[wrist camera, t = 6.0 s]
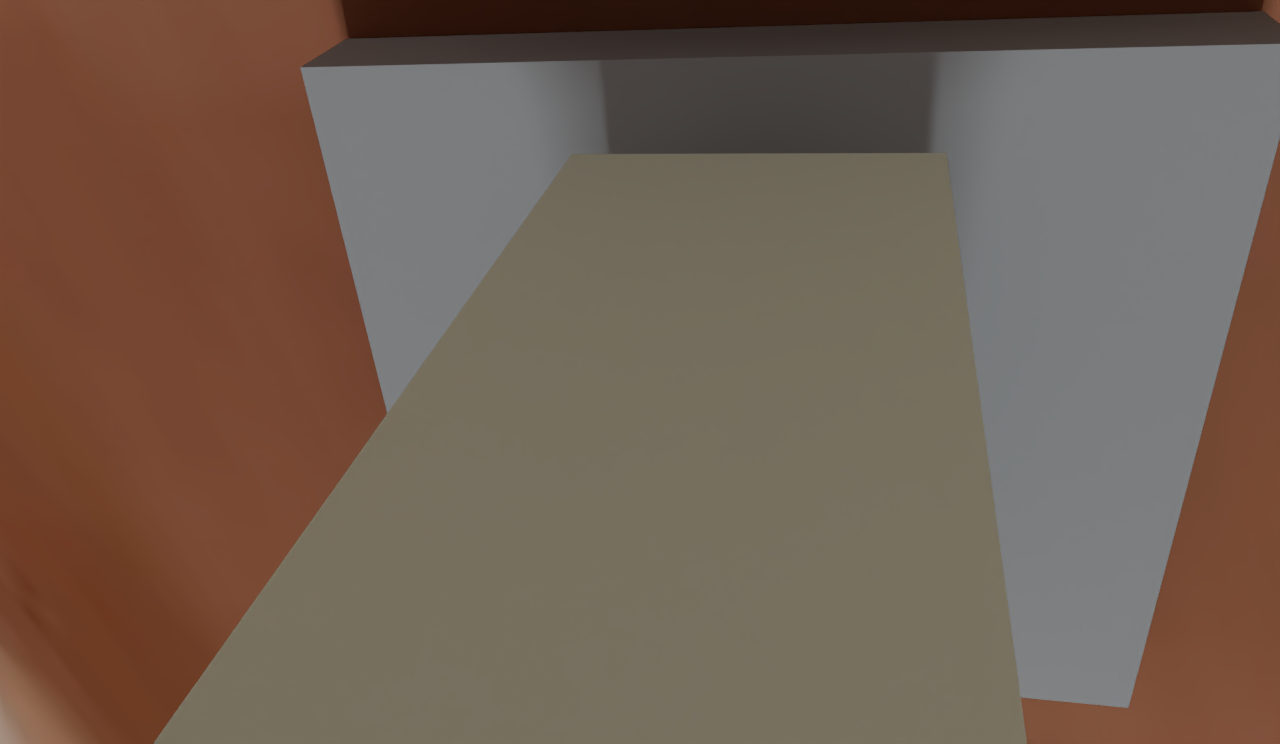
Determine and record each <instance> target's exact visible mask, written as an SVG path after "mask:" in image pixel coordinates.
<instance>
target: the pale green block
mask: <svg viewBox="0 0 1280 744" xmlns="http://www.w3.org/2000/svg"><path fill="white" fill-rule="evenodd" d="M153 744H1027V740H1026V733H1025V726H1024V718H1023V711H1022V704H1021V696H1020V689H1019V682H1018V674H1017V667H1016V660H1015V652H1014V645H1013V638H1012V630H1011V623H1010V616H1009V608H1008V601H1007V593H1006V586H1005V579H1004V571H1003V564H1002V557H1001V549H1000V542H999V535H998V527H997V520H996V513H995V505H994V498H993V491H992V483H991V476H990V469H989V461H988V454H987V447H986V439H985V432H984V425H983V417H982V410H981V403H980V395H979V388H978V381H977V373H976V366H975V359H974V351H973V344H972V337H971V329H970V322H969V315H968V307H967V300H966V293H965V285H964V278H963V271H962V263H961V256H960V249H959V241H958V234H957V227H956V219H955V212H954V205H953V197H952V190H951V183H950V175H949V168H948V161H947V153H747V154H571V156H570V157H569V158H568V160H567V161H566V163H565V164H564V165H563V167H562V168H561V170H560V171H559V173H558V174H557V175H556V177H555V178H554V180H553V181H552V182H551V184H550V185H549V187H548V188H547V189H546V191H545V192H544V194H543V195H542V196H541V198H540V199H539V201H538V202H537V204H536V205H535V206H534V208H533V209H532V211H531V212H530V213H529V215H528V216H527V218H526V219H525V220H524V222H523V223H522V225H521V226H520V227H519V229H518V230H517V232H516V233H515V235H514V236H513V237H512V239H511V240H510V242H509V243H508V244H507V246H506V247H505V249H504V250H503V251H502V253H501V254H500V256H499V257H498V258H497V260H496V261H495V263H494V264H493V266H492V267H491V268H490V270H489V271H488V273H487V274H486V275H485V277H484V278H483V280H482V281H481V282H480V284H479V285H478V287H477V288H476V289H475V291H474V292H473V294H472V295H471V297H470V298H469V299H468V301H467V302H466V304H465V305H464V306H463V308H462V309H461V311H460V312H459V313H458V315H457V316H456V318H455V319H454V320H453V322H452V323H451V325H450V326H449V328H448V329H447V330H446V332H445V333H444V335H443V336H442V337H441V339H440V340H439V342H438V343H437V344H436V346H435V347H434V349H433V350H432V352H431V353H430V354H429V356H428V357H427V359H426V360H425V361H424V363H423V364H422V366H421V367H420V368H419V370H418V371H417V373H416V374H415V375H414V377H413V378H412V380H411V381H410V383H409V384H408V385H407V387H406V388H405V390H404V391H403V392H402V394H401V395H400V397H399V398H398V399H397V401H396V402H395V404H394V405H393V406H392V408H391V409H390V411H389V412H388V414H387V415H386V416H385V418H384V419H383V421H382V422H381V423H380V425H379V426H378V428H377V429H376V430H375V432H374V433H373V435H372V436H371V437H370V439H369V440H368V442H367V443H366V445H365V446H364V447H363V449H362V450H361V452H360V453H359V454H358V456H357V457H356V459H355V460H354V461H353V463H352V464H351V466H350V467H349V468H348V470H347V471H346V473H345V474H344V476H343V477H342V478H341V480H340V481H339V483H338V484H337V485H336V487H335V488H334V490H333V491H332V492H331V494H330V495H329V497H328V498H327V499H326V501H325V502H324V504H323V505H322V507H321V508H320V509H319V511H318V512H317V514H316V515H315V516H314V518H313V519H312V521H311V522H310V523H309V525H308V526H307V528H306V529H305V530H304V532H303V533H302V535H301V536H300V538H299V539H298V540H297V542H296V543H295V545H294V546H293V547H292V549H291V550H290V552H289V553H288V554H287V556H286V557H285V559H284V560H283V561H282V563H281V564H280V566H279V567H278V569H277V570H276V571H275V573H274V574H273V576H272V577H271V578H270V580H269V581H268V583H267V584H266V585H265V587H264V588H263V590H262V591H261V592H260V594H259V595H258V597H257V598H256V600H255V601H254V602H253V604H252V605H251V607H250V608H249V609H248V611H247V612H246V614H245V615H244V616H243V618H242V619H241V621H240V622H239V623H238V625H237V626H236V628H235V629H234V631H233V632H232V633H231V635H230V636H229V638H228V639H227V640H226V642H225V643H224V645H223V646H222V647H221V649H220V650H219V652H218V653H217V654H216V656H215V657H214V659H213V660H212V662H211V663H210V664H209V666H208V667H207V669H206V670H205V671H204V673H203V674H202V676H201V677H200V678H199V680H198V681H197V683H196V684H195V685H194V687H193V688H192V690H191V691H190V693H189V694H188V695H187V697H186V698H185V700H184V701H183V702H182V704H181V705H180V707H179V708H178V709H177V711H176V712H175V714H174V715H173V716H172V718H171V719H170V721H169V722H168V724H167V725H166V726H165V728H164V729H163V731H162V732H161V733H160V735H159V736H158V738H157V739H156V740H155V742H154V743H153Z"/></svg>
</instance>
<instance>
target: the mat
mask: <svg viewBox="0 0 1280 744" xmlns="http://www.w3.org/2000/svg"><path fill="white" fill-rule="evenodd" d="M300 68H301V72H302V76H303V80H304V84H305V88H306V92H307V96H308V100H309V104H310V108H311V112H312V116H313V120H314V124H315V128H316V132H317V136H318V140H319V143H320V147H321V151H322V155H323V159H324V163H325V167H326V171H327V175H328V179H329V183H330V187H331V191H332V195H333V199H334V203H335V207H336V211H337V215H338V219H339V223H340V227H341V231H342V235H343V239H344V243H345V247H346V251H347V255H348V259H349V263H350V267H351V271H352V275H353V279H354V282H355V286H356V290H357V294H358V298H359V302H360V306H361V310H362V314H363V318H364V322H365V326H366V330H367V334H368V338H369V342H370V346H371V350H372V354H373V358H374V362H375V366H376V370H377V374H378V378H379V382H380V386H381V390H382V394H383V398H384V402H385V406H386V410H387V414H388V412H389V411H390V409H391V408H392V406H393V405H394V404H395V402H396V401H397V399H398V398H399V397H400V395H401V394H402V392H403V391H404V390H405V388H406V387H407V385H408V384H409V383H410V381H411V380H412V378H413V377H414V375H415V374H416V373H417V371H418V370H419V368H420V367H421V366H422V364H423V363H424V361H425V360H426V359H427V357H428V356H429V354H430V353H431V352H432V350H433V349H434V347H435V346H436V344H437V343H438V342H439V340H440V339H441V337H442V336H443V335H444V333H445V332H446V330H447V329H448V328H449V326H450V325H451V323H452V322H453V320H454V319H455V318H456V316H457V315H458V313H459V312H460V311H461V309H462V308H463V306H464V305H465V304H466V302H467V301H468V299H469V298H470V297H471V295H472V294H473V292H474V291H475V289H476V288H477V287H478V285H479V284H480V282H481V281H482V280H483V278H484V277H485V275H486V274H487V273H488V271H489V270H490V268H491V267H492V266H493V264H494V263H495V261H496V260H497V258H498V257H499V256H500V254H501V253H502V251H503V250H504V249H505V247H506V246H507V244H508V243H509V242H510V240H511V239H512V237H513V236H514V235H515V233H516V232H517V230H518V229H519V227H520V226H521V225H522V223H523V222H524V220H525V219H526V218H527V216H528V215H529V213H530V212H531V211H532V209H533V208H534V206H535V205H536V204H537V202H538V201H539V199H540V198H541V196H542V195H543V194H544V192H545V191H546V189H547V188H548V187H549V185H550V184H551V182H552V181H553V180H554V178H555V177H556V175H557V174H558V173H559V171H560V170H561V168H562V167H563V165H564V164H565V163H566V161H567V160H568V158H569V157H570V156H571V154H747V153H947V161H948V168H949V175H950V183H951V190H952V197H953V205H954V212H955V219H956V227H957V234H958V241H959V249H960V256H961V263H962V271H963V278H964V285H965V293H966V300H967V307H968V315H969V322H970V329H971V337H972V344H973V351H974V359H975V366H976V373H977V381H978V388H979V395H980V403H981V410H982V417H983V425H984V432H985V439H986V447H987V454H988V461H989V469H990V476H991V483H992V491H993V498H994V505H995V513H996V520H997V527H998V535H999V542H1000V549H1001V557H1002V564H1003V571H1004V579H1005V586H1006V593H1007V601H1008V608H1009V616H1010V623H1011V630H1012V638H1013V645H1014V652H1015V660H1016V667H1017V674H1018V682H1019V689H1020V696H1021V697H1022V698H1032V699H1043V700H1053V701H1063V702H1073V703H1084V704H1094V705H1104V706H1115V707H1125V708H1128V707H1129V703H1130V700H1131V696H1132V692H1133V688H1134V685H1135V681H1136V677H1137V673H1138V670H1139V666H1140V662H1141V658H1142V654H1143V651H1144V647H1145V643H1146V639H1147V636H1148V632H1149V628H1150V624H1151V621H1152V617H1153V613H1154V609H1155V606H1156V602H1157V598H1158V594H1159V590H1160V587H1161V583H1162V579H1163V575H1164V572H1165V568H1166V564H1167V560H1168V557H1169V553H1170V549H1171V545H1172V541H1173V538H1174V534H1175V530H1176V526H1177V523H1178V519H1179V515H1180V511H1181V508H1182V504H1183V500H1184V496H1185V493H1186V489H1187V485H1188V481H1189V477H1190V474H1191V470H1192V466H1193V462H1194V459H1195V455H1196V451H1197V447H1198V444H1199V440H1200V436H1201V432H1202V428H1203V425H1204V421H1205V417H1206V413H1207V410H1208V406H1209V402H1210V398H1211V395H1212V391H1213V387H1214V383H1215V380H1216V376H1217V372H1218V368H1219V364H1220V361H1221V357H1222V353H1223V349H1224V346H1225V342H1226V338H1227V334H1228V331H1229V327H1230V323H1231V319H1232V315H1233V312H1234V308H1235V304H1236V300H1237V297H1238V293H1239V289H1240V285H1241V282H1242V278H1243V274H1244V270H1245V267H1246V263H1247V259H1248V255H1249V251H1250V248H1251V244H1252V240H1253V236H1254V233H1255V229H1256V225H1257V221H1258V218H1259V214H1260V210H1261V206H1262V202H1263V199H1264V195H1265V191H1266V187H1267V184H1268V180H1269V176H1270V172H1271V169H1272V165H1273V161H1274V157H1275V154H1276V150H1277V146H1278V142H1279V138H1280V24H1279V23H1278V22H1277V21H1275V20H1274V19H1273V18H1271V17H1270V16H1269V15H1267V14H1266V13H1265V12H1264V11H1255V12H1222V13H1189V14H1155V15H1122V16H1089V17H1055V18H1022V19H989V20H956V21H922V22H889V23H856V24H822V25H789V26H756V27H723V28H689V29H656V30H623V31H590V32H556V33H523V34H490V35H456V36H423V37H390V38H357V39H346V40H344V41H342V42H341V43H339V44H338V45H336V46H334V47H333V48H331V49H329V50H328V51H326V52H325V53H323V54H321V55H320V56H318V57H316V58H315V59H313V60H312V61H310V62H308V63H307V64H305V65H304V66H302V67H300Z"/></svg>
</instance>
